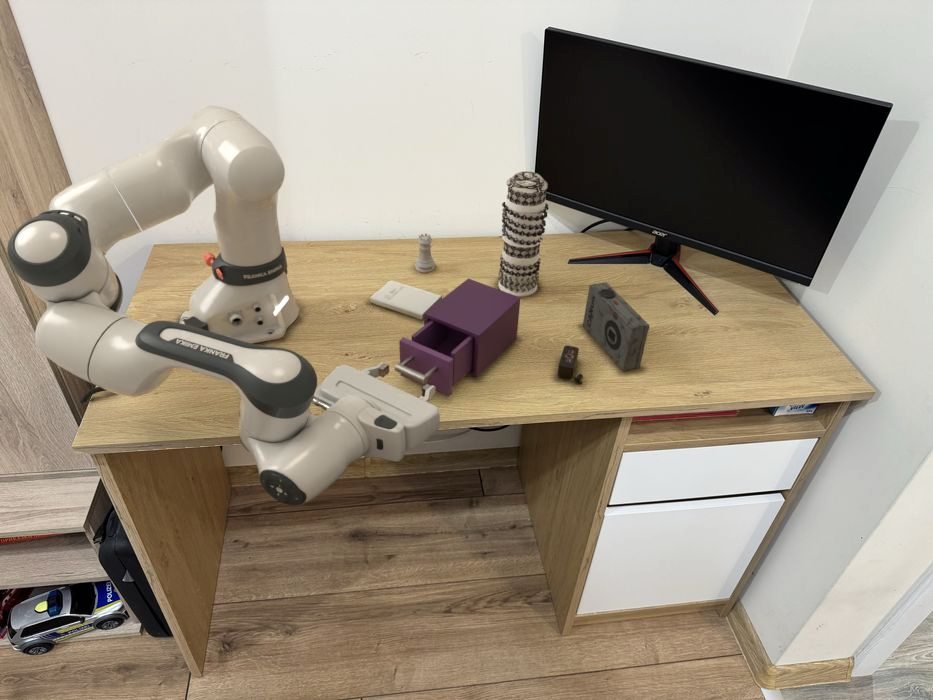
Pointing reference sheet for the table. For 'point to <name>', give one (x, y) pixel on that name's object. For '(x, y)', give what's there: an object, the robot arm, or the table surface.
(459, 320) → the file cabinet
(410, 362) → the drawer
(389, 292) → the hard drive
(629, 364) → the camera
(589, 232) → the table surface
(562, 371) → the wireless earbuds
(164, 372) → the robot arm
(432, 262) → the rook chess piece
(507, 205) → the decorative candle
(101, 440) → the table surface
